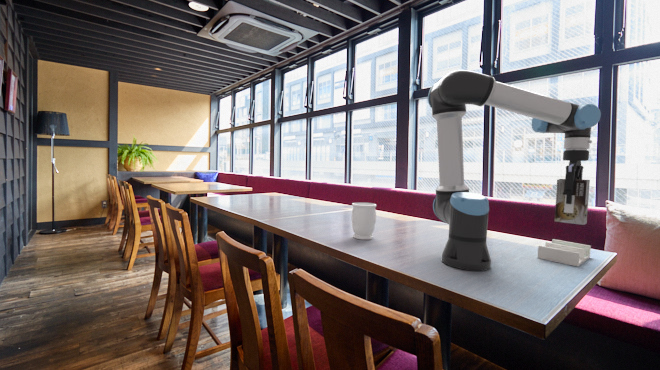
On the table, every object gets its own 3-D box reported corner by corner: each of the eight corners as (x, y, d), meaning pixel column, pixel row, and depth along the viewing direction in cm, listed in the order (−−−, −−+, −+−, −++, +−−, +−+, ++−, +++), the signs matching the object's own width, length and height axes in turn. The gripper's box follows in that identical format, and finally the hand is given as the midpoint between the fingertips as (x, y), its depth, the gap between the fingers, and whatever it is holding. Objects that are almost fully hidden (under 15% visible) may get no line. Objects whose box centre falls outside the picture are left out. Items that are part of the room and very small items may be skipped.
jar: (349, 239, 136) (350, 204, 135) (352, 234, 146) (353, 201, 145) (374, 241, 134) (376, 205, 133) (375, 235, 144) (376, 202, 143)
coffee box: (587, 223, 119) (590, 179, 118) (583, 225, 115) (587, 180, 114) (557, 219, 126) (560, 178, 125) (553, 221, 121) (556, 178, 120)
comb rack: (537, 257, 117) (538, 245, 117) (551, 250, 129) (552, 239, 128) (578, 266, 108) (579, 253, 108) (589, 257, 120) (590, 245, 119)
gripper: (582, 148, 109) (577, 215, 111) (594, 150, 122) (589, 211, 124) (556, 148, 115) (551, 212, 116) (570, 150, 127) (566, 208, 129)
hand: (571, 211), depth 120 cm, fingers closed on coffee box, 7 cm apart
